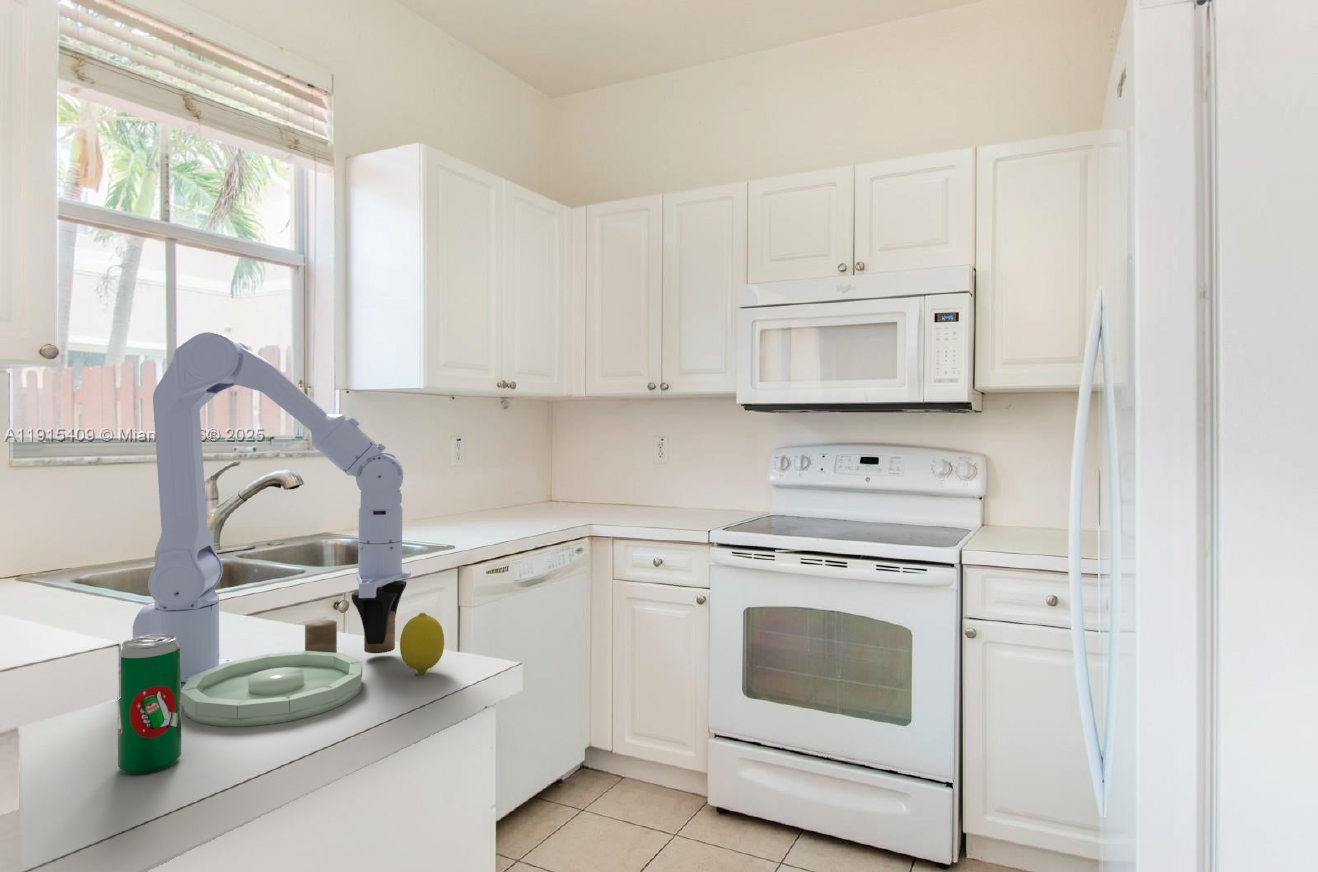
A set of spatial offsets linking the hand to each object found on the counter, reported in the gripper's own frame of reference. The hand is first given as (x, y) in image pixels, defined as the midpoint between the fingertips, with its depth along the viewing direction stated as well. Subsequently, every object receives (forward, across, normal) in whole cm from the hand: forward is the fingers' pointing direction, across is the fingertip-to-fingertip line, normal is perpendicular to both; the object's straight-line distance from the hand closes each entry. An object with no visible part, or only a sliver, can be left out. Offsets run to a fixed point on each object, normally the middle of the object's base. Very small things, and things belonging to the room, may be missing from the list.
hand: (379, 638), depth 107 cm
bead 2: (+2, 0, 0) cm, 2 cm away
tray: (+3, -14, +9) cm, 17 cm away
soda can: (+3, -32, +14) cm, 35 cm away
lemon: (+3, -8, -7) cm, 11 cm away
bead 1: (+3, 0, +8) cm, 8 cm away
